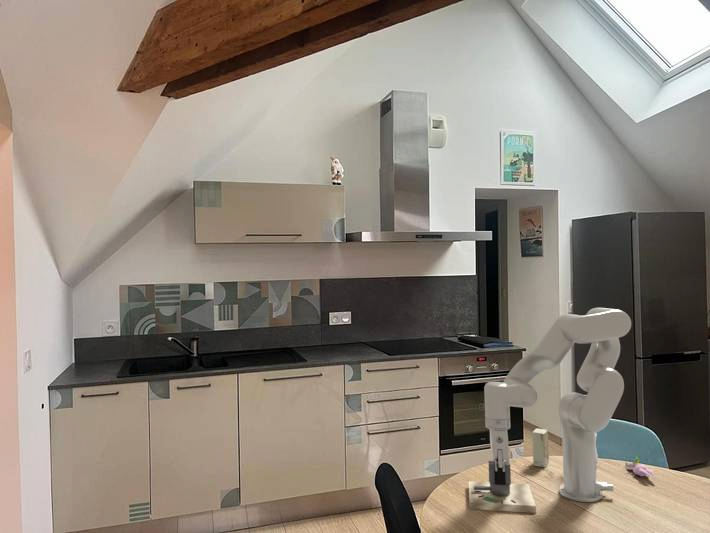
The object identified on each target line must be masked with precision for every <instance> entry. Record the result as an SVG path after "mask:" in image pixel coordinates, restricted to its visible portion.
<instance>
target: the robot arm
mask: <svg viewBox="0 0 710 533" xmlns="http://www.w3.org/2000/svg"><path fill="white" fill-rule="evenodd" d="M631 328H632V319H631V318H630V316H629V315H628V313H626V312H625V311H623V310H620V309H618V308H617V309H615V308H606V307H594V308H591V309H589V310H588V311H587V313H585V314H584V315H581V314H580V315H578V314H574V313H573V314H572V313H566V314H565V313H563V314H561V315H560V316H558V317H557V318H556V319H555V321H554V322H553V324H552V325H551V326H550V327H549V329H548V331H547V332H546V333H545V335H544V336H543V338H542V339H541V340H540V342H539V343H538V344H537V345H536V346H535V348H534V349H533V350H532V351H530V352H528V353H527V354H526V355H524V357H523V358H521V359H520V360H518V362H517V363H516V364H514V366H513V367H512V368H511V369H510V371H509V372H508V374H507V375H506V376H505V378H504V380H503V381H489V382H486V383H485V385H484V387H483V389H484V390H483V391H484V393H483V394H484V417H485V418H484V419H485V422H484V423H485V428H486V429H488V430H489V442H490V444H489V445H490V452H491V459H492V461H494V462H495V470H494V472H495V484H503V485H505V484H506V478H505V467H504V461H505V462H507V463H509V462H510V450H509V437H508V436H509V434H508V430H510V429H511V409H510V407H514V408H529V407H531V406H532V407H533V405H535V404H536V402H537V400H538V393H537V390H536V389H535V387H534V386H533V385H531V384H530V383H531V381H532V380H533V379H534V378H535V377H536V376H537V375H539V374H540V373H543V372H545V371H548V370H551V369H553V368H556V367H558V366H559V365H560V364H561V363H562V361H563V360H564V359H565V357H566V355H567V354H568V353H569V352H570V350H571V349H572V347H573V346H574V345H575V343H576V344H580V345H584V344H586V345H587V344H590V348H589V350H588V351H587V352H588V353H587V355H586V356H585V359H584V361H583V362H582V364H581V366H580V369H579V370H578V373H577V374H576V383H577V385H578V387H579V388H580V389H582V390H583V391H585V392H587V394H582V393H579V392H567V393H566V394H564V395H563V396H562V397H561V398H560V400H559V402H558V414H559V420H560V426H561V437H562V438H561V439H562V440H561V441H562V466H563V483H562V484H561V485H559V487H558V493H559V494H560V496H562V497H564V498H566V499H569V500H572V501H575V502H579V503H580V502H581V503H594V502H598V501H600V500H602V498H603V491H605V492H606V491H607V492H614V485H613V484H607V482H606V481H599V480H598V479H597V464H596V457H595V436H594V433H595V432H596V433H599V432H601V431H602V430H604V429H605V428H606V427H607V426H608V424H609V422H610V421H611V418H612V417H613V415H614V413H615V411H616V409H617V407H618V406H619V403H620V401H621V399H622V396H623V394H624V390H625V383H624V378H623V376H622V375H621V373H619V372H618V370H616V369H615V367H616V364H617V362H618V360H619V358H620V354H621V344H620V339H619V338H621V337H622V338H623V337H624V336H626V335H627V334H628V333H629V331H630V330H631ZM585 395H587V396H585ZM497 463H498V465H497Z"/></svg>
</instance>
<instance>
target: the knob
mask: <svg viewBox="0 0 710 533" xmlns="http://www.w3.org/2000/svg"><path fill="white" fill-rule="evenodd" d="M487 462H488V482H489V483H490V486H474V490H488V491H490V492H491V493H492V494H494V495H497V496H507V495H509V494H510V485H511V483H512V478H511V464H510V461H509V463H507V462H505V460H504V467H505V478H506V484H505V485H503V484H495V472H494V470H495V462H494V461H493V460H488V461H487ZM497 465H498V463H497Z"/></svg>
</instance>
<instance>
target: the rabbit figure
mask: <svg viewBox="0 0 710 533" xmlns="http://www.w3.org/2000/svg"><path fill="white" fill-rule="evenodd" d="M640 461H641V460H640V459H639V458H638V457H637V456H636V457H635V459H634V460H633V462H629V463H628V462H625V465H624V467H625V468H626V469H627V470H629V471H632V472H633V473H634V474H635V475H637V476H639V477H640V478H641V477H647V476H648V477H650V476H653V477H654V476H655V471H654V470H652V469H649V468H648V467H647V466H646V465H644V464H639V463H640Z"/></svg>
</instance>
